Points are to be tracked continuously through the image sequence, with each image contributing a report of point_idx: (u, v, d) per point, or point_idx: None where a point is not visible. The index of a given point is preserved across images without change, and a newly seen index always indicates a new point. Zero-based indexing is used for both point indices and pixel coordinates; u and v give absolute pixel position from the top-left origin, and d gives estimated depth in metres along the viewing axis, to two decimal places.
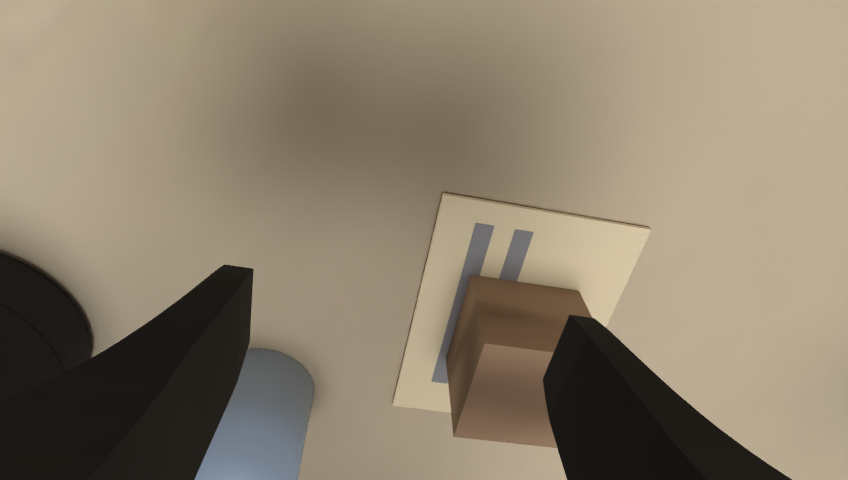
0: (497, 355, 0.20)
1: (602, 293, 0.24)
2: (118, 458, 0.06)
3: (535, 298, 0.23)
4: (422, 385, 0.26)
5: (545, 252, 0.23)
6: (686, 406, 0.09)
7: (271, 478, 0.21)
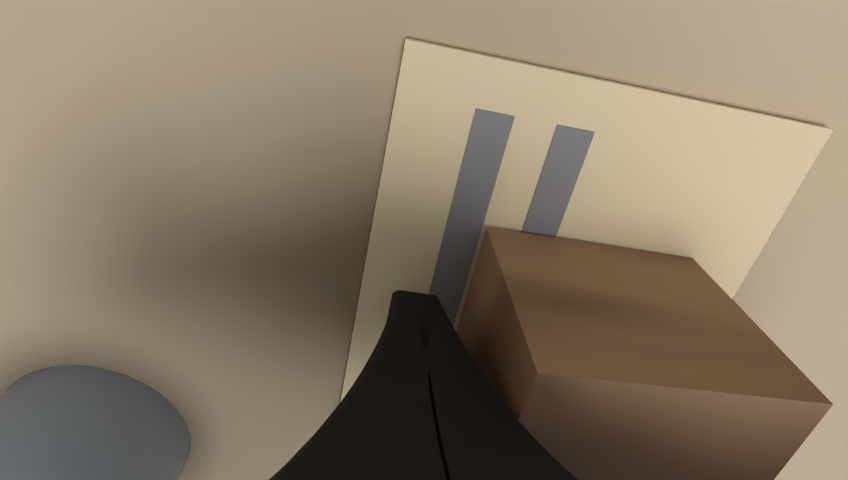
0: (566, 400, 0.08)
1: (716, 263, 0.13)
2: None
3: (619, 270, 0.11)
4: None
5: (614, 176, 0.11)
6: (480, 380, 0.09)
7: None
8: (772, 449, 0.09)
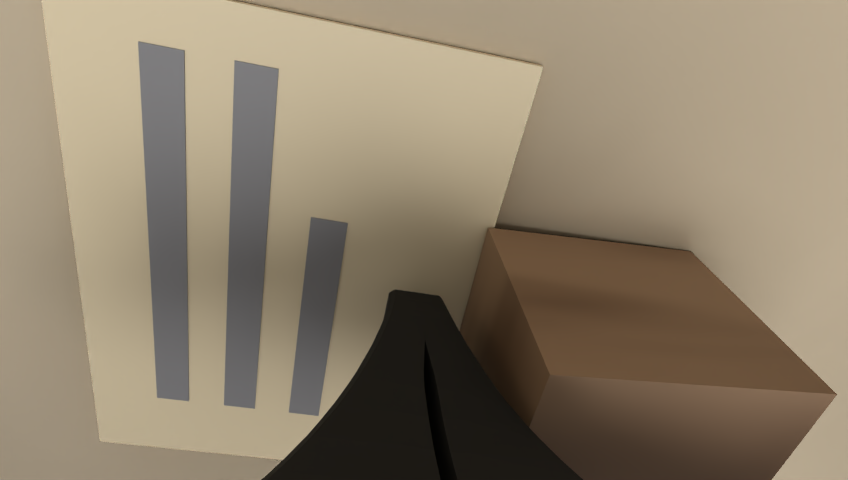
0: (578, 401, 0.08)
1: (457, 219, 0.12)
2: None
3: (621, 267, 0.11)
4: (144, 405, 0.14)
5: (316, 120, 0.10)
6: (484, 381, 0.09)
7: None
8: (778, 440, 0.09)
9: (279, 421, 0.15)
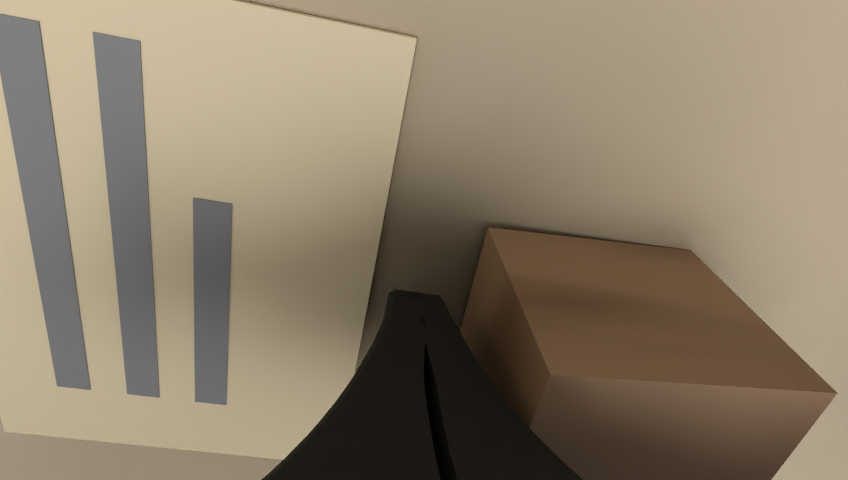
0: (578, 400, 0.08)
1: (345, 200, 0.11)
2: None
3: (621, 266, 0.11)
4: (45, 394, 0.14)
5: (186, 95, 0.10)
6: (484, 381, 0.09)
7: None
8: (778, 438, 0.09)
9: (187, 411, 0.14)
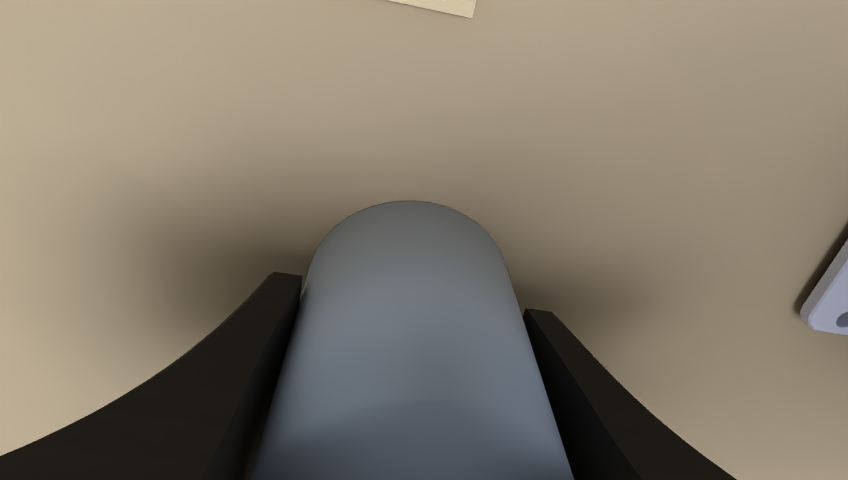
0: None
1: None
2: (213, 467, 0.06)
3: None
4: None
5: None
6: (630, 399, 0.09)
7: (327, 438, 0.07)
8: None
9: None
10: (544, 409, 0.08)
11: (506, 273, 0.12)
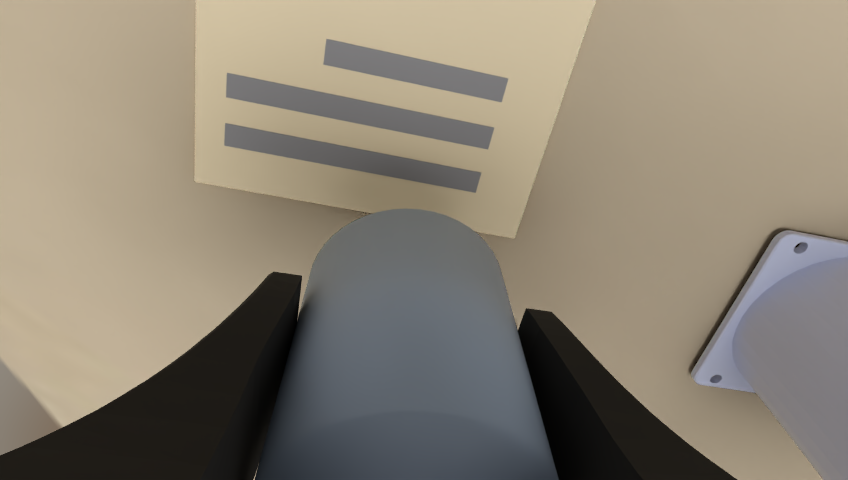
0: None
1: None
2: (213, 467, 0.06)
3: None
4: (482, 202, 0.20)
5: (255, 53, 0.17)
6: (631, 399, 0.09)
7: (319, 448, 0.08)
8: None
9: (512, 111, 0.18)
10: (527, 411, 0.08)
11: (497, 275, 0.12)
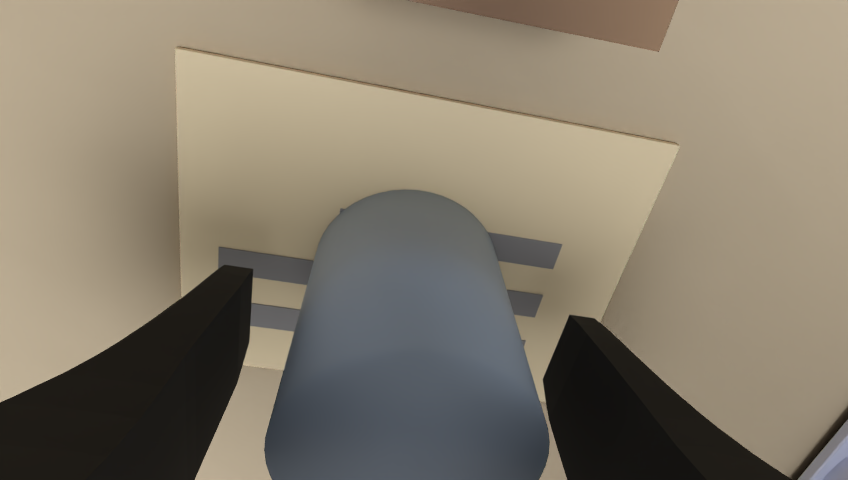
0: None
1: (330, 116, 0.12)
2: (118, 458, 0.06)
3: None
4: None
5: (253, 225, 0.14)
6: (686, 406, 0.09)
7: (328, 387, 0.09)
8: None
9: (565, 277, 0.15)
10: (516, 358, 0.09)
11: (490, 249, 0.13)
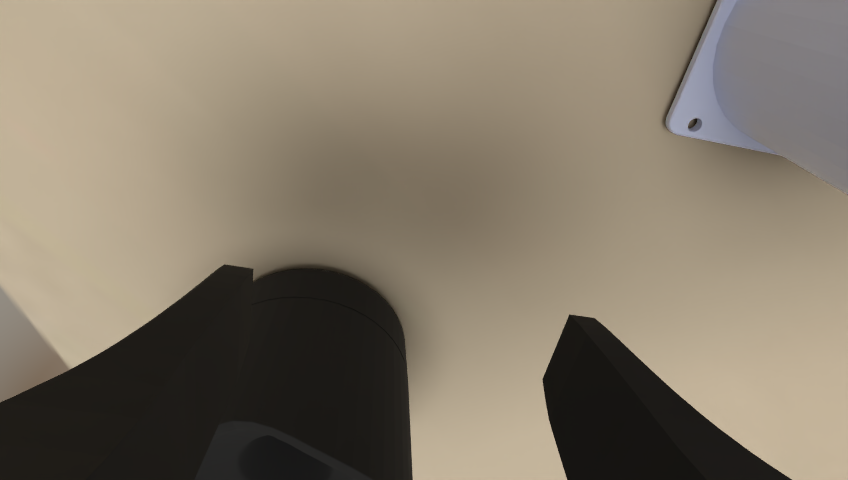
0: None
1: None
2: (119, 458, 0.06)
3: None
4: None
5: None
6: (686, 406, 0.09)
7: None
8: None
9: None
10: None
11: None
